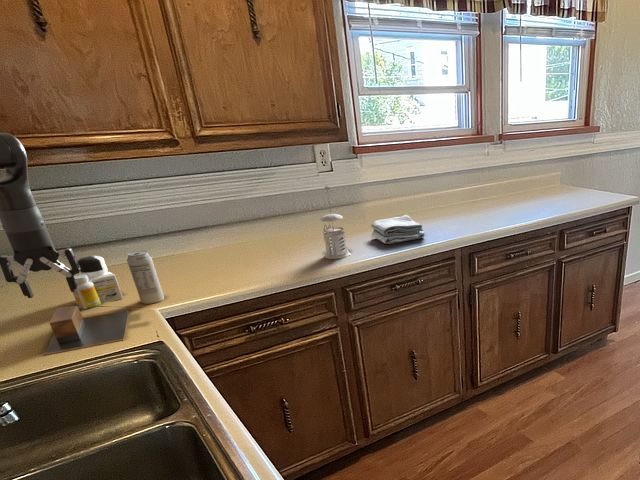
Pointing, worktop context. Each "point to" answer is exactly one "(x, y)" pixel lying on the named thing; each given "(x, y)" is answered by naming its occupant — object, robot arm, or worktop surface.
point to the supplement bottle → (85, 293)
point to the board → (95, 332)
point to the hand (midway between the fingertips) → (52, 294)
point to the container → (100, 278)
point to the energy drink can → (145, 277)
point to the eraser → (67, 324)
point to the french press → (334, 236)
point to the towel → (396, 229)
